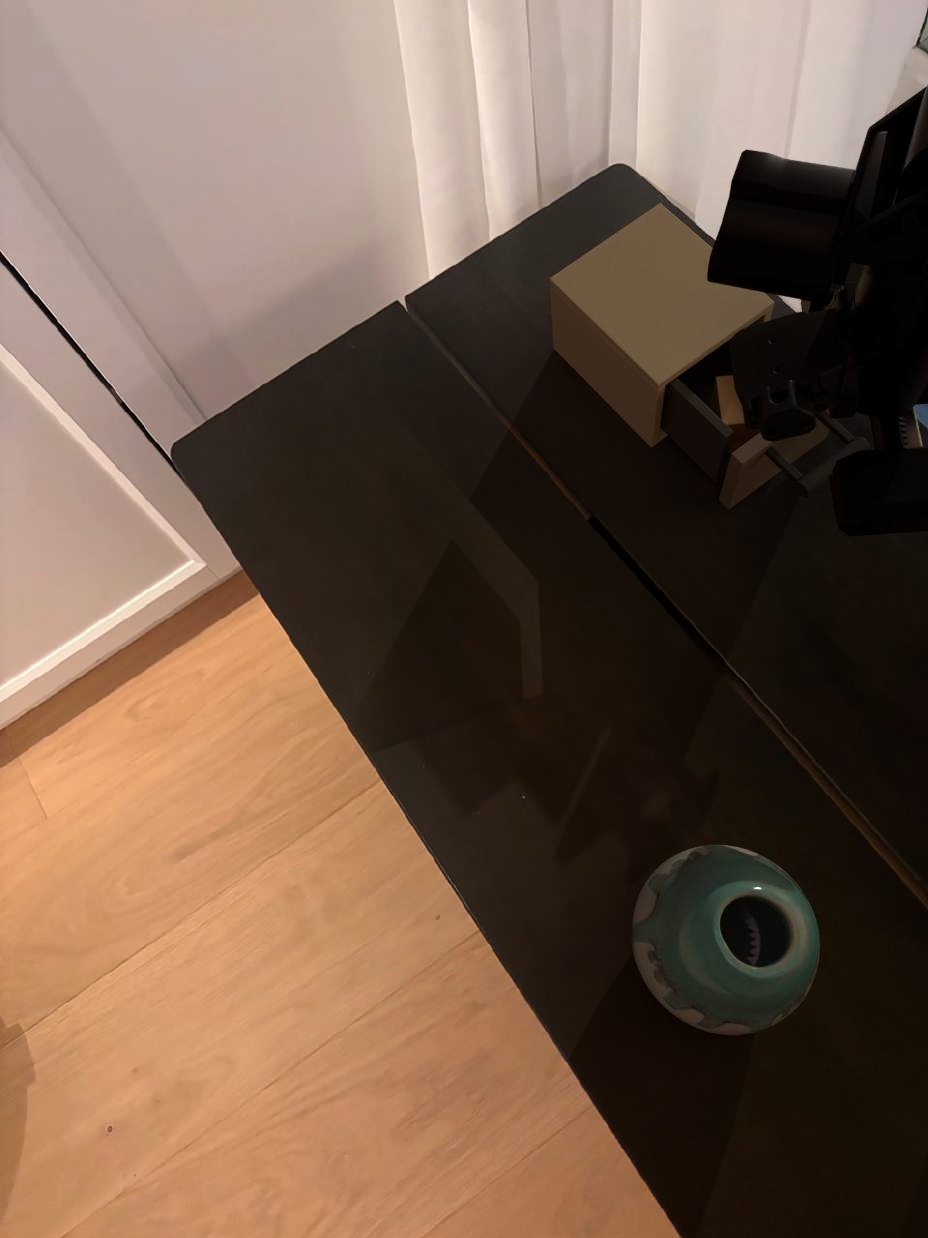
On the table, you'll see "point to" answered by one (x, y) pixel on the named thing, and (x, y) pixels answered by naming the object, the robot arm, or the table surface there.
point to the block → (730, 411)
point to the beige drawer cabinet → (645, 315)
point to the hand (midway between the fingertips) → (841, 457)
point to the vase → (725, 939)
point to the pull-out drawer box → (756, 458)
